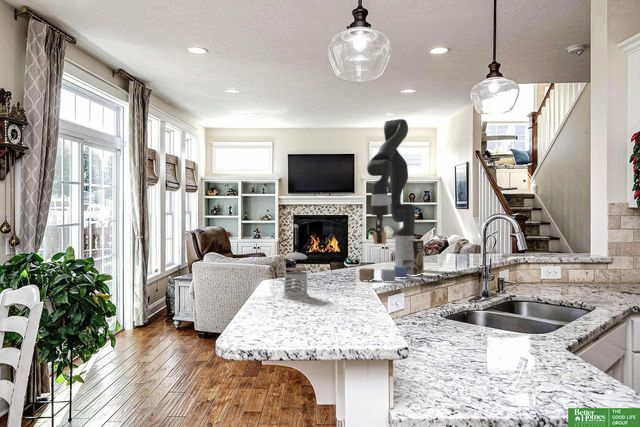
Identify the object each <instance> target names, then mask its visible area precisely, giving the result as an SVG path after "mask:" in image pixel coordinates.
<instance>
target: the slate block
mask: <svg viewBox="0 0 640 427" xmlns="http://www.w3.org/2000/svg"><path fill="white" fill-rule="evenodd" d="M381 279H382V280H383V281H395V282H396V279H395V270H394V268H380V280H381Z"/></svg>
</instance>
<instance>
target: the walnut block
mask: <svg viewBox="0 0 640 427" xmlns="http://www.w3.org/2000/svg"><path fill="white" fill-rule="evenodd" d="M358 272H359V274H358V276H359V280H372V279H374V280H375V268H372V267H371V268H368V267H367V268H365V267H362V268H359V271H358ZM359 280H358V281H359Z"/></svg>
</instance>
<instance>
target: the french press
mask: <svg viewBox="0 0 640 427" xmlns="http://www.w3.org/2000/svg"><path fill="white" fill-rule="evenodd" d="M292 228H293V229H294V230H295V234H294V235H295V236H294V237H295V242H294V243H295V244H297V228H299V225H298V224H296V223H295V224H293V226H292ZM283 258H284V260H282V261H281V262H279V263H278V265H277V267H276V270H277V273H276V276H277V278H278V280H279V281H280V282H282V283H283V286H284V287H283V290H284V292H283V293H284V294H283V295H282V296H281V298H282V299H286V300H304V299H309V298H310V297H311V296H310V294H308V272H305V271H306V270H307V268H306V267H303V266H302V267H298V266H295V267H294V266H293V267H292V266H291V267H286V268H285V270H286V272H285V273H284V279H282V278H281V276H280V272H279V271H280V270H279V269H280V267H281V264H282V263H284V264H283V265H284V266H286V265H287V260H307V258H308V256H307V255H306V254H304V253H301V252H297V251H294V252H291V253H288V254H286V255H285V256H284V257H283ZM285 259H286V260H285Z"/></svg>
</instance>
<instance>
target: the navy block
mask: <svg viewBox="0 0 640 427" xmlns="http://www.w3.org/2000/svg"><path fill="white" fill-rule="evenodd" d="M393 269H394V270H395V277H407V278H408V276H407V267H406V266H395V265H394V266H393Z"/></svg>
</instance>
